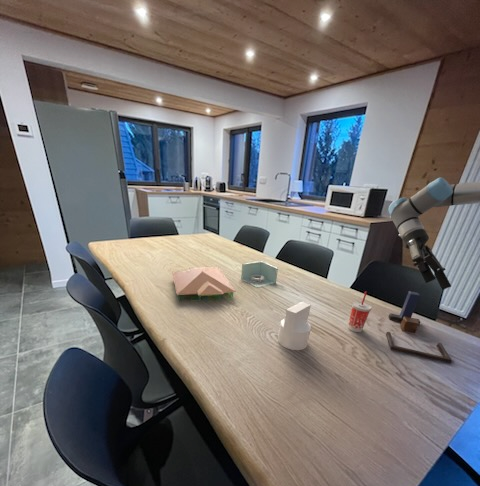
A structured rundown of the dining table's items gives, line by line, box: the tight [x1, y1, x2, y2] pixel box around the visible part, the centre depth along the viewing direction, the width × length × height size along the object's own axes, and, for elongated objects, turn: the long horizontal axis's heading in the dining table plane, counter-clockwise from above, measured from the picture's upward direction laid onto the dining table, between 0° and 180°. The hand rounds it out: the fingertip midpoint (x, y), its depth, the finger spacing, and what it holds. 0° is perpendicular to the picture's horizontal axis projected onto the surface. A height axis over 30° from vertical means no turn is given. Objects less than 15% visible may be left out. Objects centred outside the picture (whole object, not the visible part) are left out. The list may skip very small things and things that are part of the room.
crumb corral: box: [385, 331, 453, 364], centre depth 83 cm, size 16×10×1 cm, turn 70°
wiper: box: [388, 290, 421, 325], centre depth 97 cm, size 10×3×12 cm, turn 70°
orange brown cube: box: [399, 316, 420, 334], centre depth 93 cm, size 4×4×4 cm
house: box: [171, 266, 236, 303], centre depth 113 cm, size 23×33×8 cm
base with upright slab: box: [277, 300, 312, 351], centre depth 79 cm, size 9×9×12 cm
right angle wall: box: [240, 260, 279, 288], centre depth 126 cm, size 12×12×8 cm
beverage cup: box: [347, 290, 373, 333], centre depth 89 cm, size 6×6×14 cm
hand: (439, 284), depth 89 cm, fingers open, 13 cm apart
